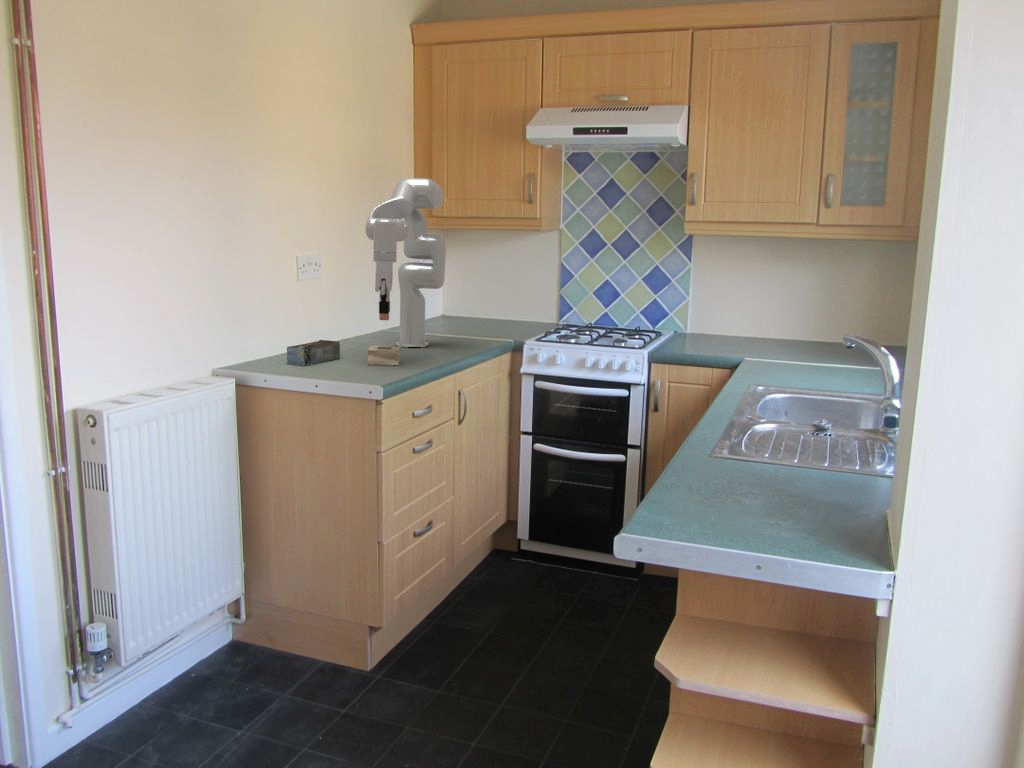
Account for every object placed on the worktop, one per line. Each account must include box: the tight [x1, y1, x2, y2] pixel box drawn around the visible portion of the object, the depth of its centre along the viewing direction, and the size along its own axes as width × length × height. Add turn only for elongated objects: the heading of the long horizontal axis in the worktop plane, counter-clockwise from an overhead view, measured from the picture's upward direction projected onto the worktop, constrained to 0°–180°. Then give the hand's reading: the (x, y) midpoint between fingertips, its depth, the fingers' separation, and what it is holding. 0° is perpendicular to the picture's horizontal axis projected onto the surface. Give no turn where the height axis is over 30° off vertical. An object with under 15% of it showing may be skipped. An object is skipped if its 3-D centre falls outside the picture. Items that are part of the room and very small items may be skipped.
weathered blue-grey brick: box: [286, 339, 341, 367], centre depth 288 cm, size 8×19×7 cm, turn 154°
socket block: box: [367, 345, 401, 366], centre depth 290 cm, size 10×10×5 cm
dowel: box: [378, 293, 390, 321], centre depth 286 cm, size 3×3×9 cm
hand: (384, 312), depth 287 cm, fingers closed on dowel, 3 cm apart
